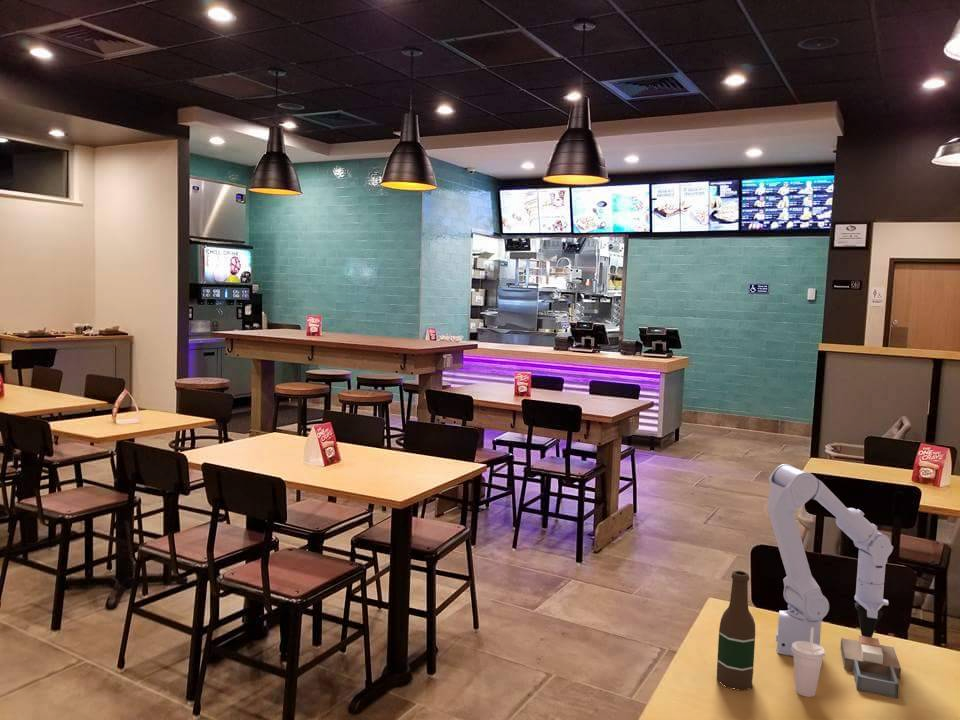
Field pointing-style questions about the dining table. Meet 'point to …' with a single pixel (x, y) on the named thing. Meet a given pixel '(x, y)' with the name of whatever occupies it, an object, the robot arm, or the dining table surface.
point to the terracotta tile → (868, 641)
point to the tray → (876, 681)
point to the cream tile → (871, 654)
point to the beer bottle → (736, 638)
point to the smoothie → (807, 665)
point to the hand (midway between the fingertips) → (866, 636)
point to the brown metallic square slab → (852, 651)
